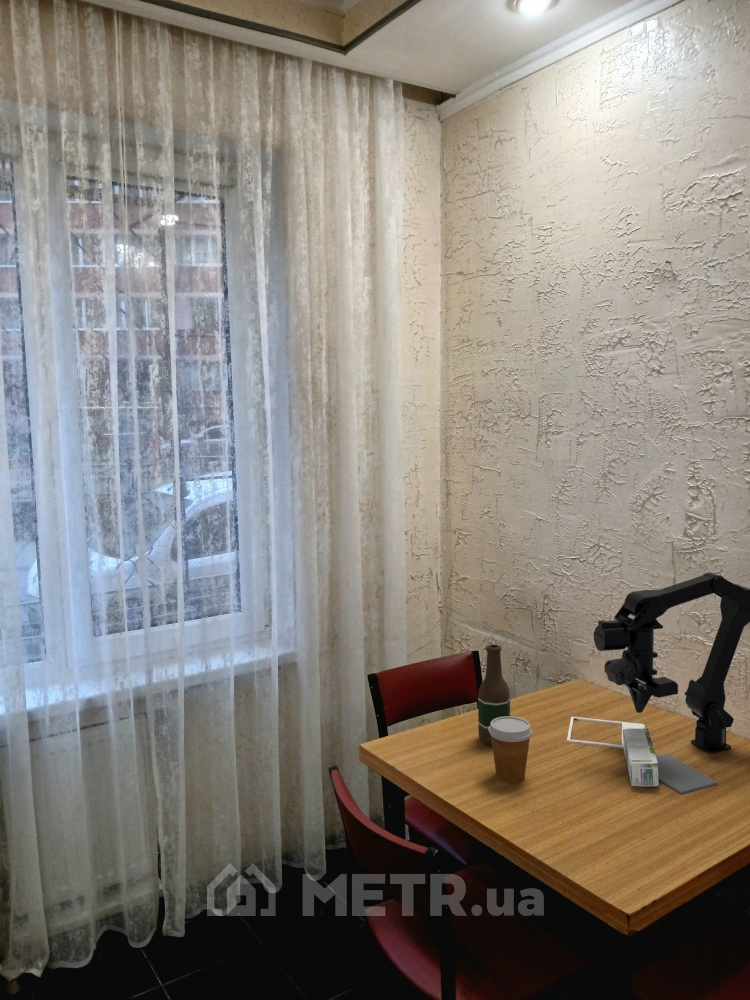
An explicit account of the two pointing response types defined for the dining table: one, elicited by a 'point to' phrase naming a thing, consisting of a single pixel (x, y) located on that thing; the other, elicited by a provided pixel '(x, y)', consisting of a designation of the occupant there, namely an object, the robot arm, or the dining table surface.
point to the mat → (681, 775)
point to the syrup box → (640, 757)
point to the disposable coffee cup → (510, 747)
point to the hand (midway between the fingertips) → (639, 712)
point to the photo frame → (624, 724)
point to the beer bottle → (492, 695)
